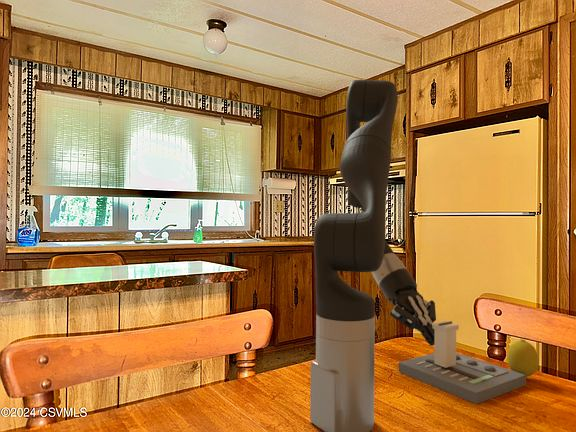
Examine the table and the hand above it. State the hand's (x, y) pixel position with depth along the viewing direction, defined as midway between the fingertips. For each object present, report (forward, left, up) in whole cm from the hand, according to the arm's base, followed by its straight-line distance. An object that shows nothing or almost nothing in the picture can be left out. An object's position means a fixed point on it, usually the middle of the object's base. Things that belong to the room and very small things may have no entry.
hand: (436, 343), depth 88 cm
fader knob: (0, -2, -4) cm, 4 cm away
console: (+2, -4, -6) cm, 8 cm away
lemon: (+13, -11, -6) cm, 18 cm away
